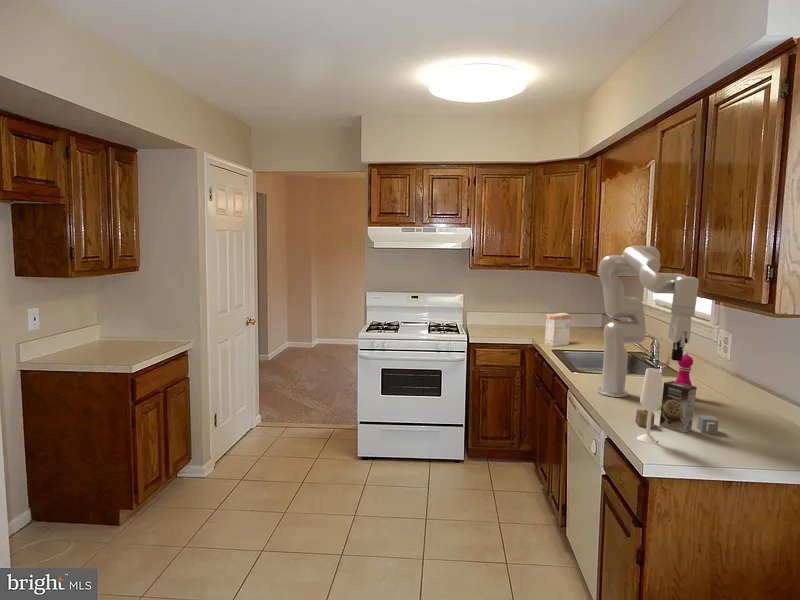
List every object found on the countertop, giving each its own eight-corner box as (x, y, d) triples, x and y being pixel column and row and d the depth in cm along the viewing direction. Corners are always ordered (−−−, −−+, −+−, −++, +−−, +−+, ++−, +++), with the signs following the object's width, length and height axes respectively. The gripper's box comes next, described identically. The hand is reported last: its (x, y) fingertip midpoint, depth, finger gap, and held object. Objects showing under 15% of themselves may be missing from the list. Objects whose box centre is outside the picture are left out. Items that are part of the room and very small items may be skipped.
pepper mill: (679, 394, 246) (684, 349, 243) (694, 398, 239) (699, 353, 237) (668, 395, 243) (673, 350, 240) (683, 400, 236) (688, 354, 234)
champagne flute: (635, 434, 192) (642, 366, 189) (656, 437, 190) (663, 368, 187) (637, 441, 186) (644, 371, 183) (659, 444, 184) (666, 373, 181)
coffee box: (658, 425, 203) (662, 382, 201) (667, 422, 206) (672, 380, 204) (683, 433, 195) (688, 388, 193) (692, 430, 199) (697, 386, 197)
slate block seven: (697, 428, 202) (698, 414, 201) (712, 429, 201) (713, 416, 200) (702, 433, 197) (703, 419, 196) (717, 434, 196) (719, 420, 195)
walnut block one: (635, 422, 206) (637, 406, 205) (649, 423, 205) (651, 407, 204) (638, 426, 201) (640, 410, 200) (653, 428, 200) (655, 411, 199)
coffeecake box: (560, 342, 356) (562, 312, 353) (569, 344, 350) (571, 314, 347) (543, 344, 348) (546, 313, 345) (552, 346, 342) (554, 315, 339)
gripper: (666, 306, 209) (660, 354, 212) (677, 313, 194) (670, 364, 197) (688, 308, 207) (681, 356, 210) (700, 315, 193) (693, 366, 196)
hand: (676, 360), depth 204 cm, fingers closed
